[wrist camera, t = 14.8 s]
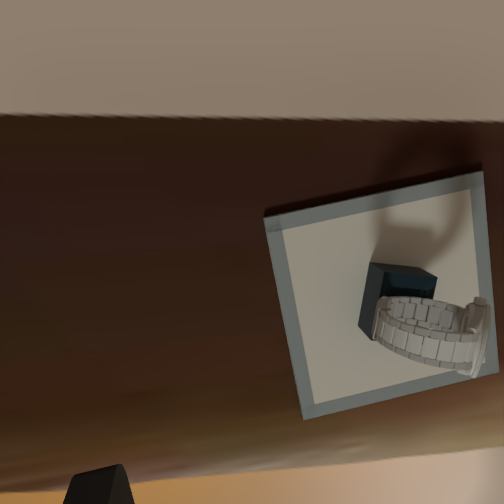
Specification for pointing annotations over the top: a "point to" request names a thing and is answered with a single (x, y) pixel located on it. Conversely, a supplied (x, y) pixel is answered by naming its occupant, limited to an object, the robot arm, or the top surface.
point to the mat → (354, 278)
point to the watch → (423, 319)
